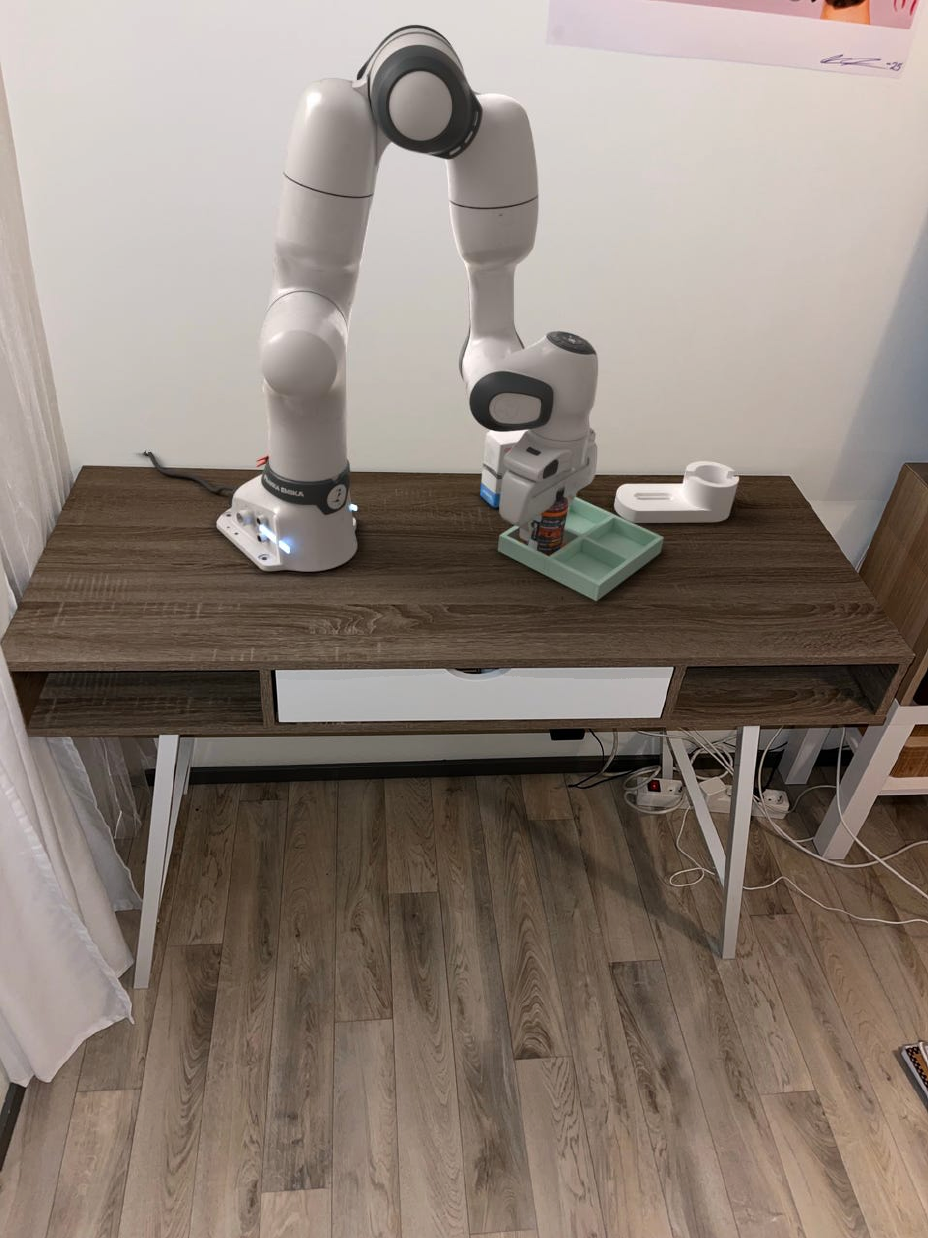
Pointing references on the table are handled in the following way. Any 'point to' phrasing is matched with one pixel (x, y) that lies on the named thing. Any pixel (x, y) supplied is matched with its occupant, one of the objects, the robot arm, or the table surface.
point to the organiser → (589, 550)
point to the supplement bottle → (550, 526)
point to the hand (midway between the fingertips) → (544, 526)
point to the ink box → (496, 463)
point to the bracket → (681, 497)
